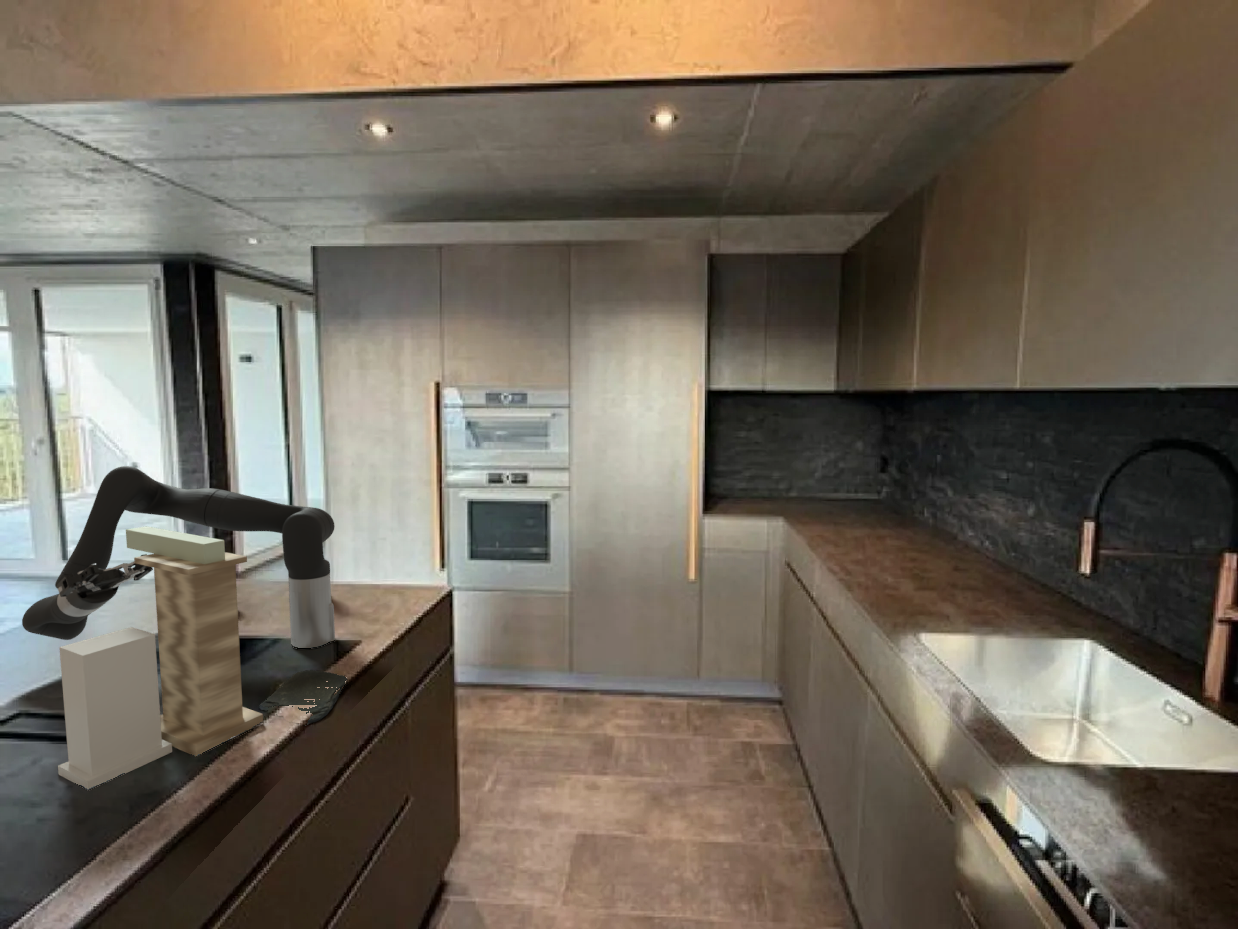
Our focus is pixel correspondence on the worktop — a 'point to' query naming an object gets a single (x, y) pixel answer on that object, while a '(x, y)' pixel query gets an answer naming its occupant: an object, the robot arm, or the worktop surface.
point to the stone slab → (309, 692)
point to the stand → (199, 652)
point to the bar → (176, 544)
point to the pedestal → (111, 706)
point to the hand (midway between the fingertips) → (122, 563)
